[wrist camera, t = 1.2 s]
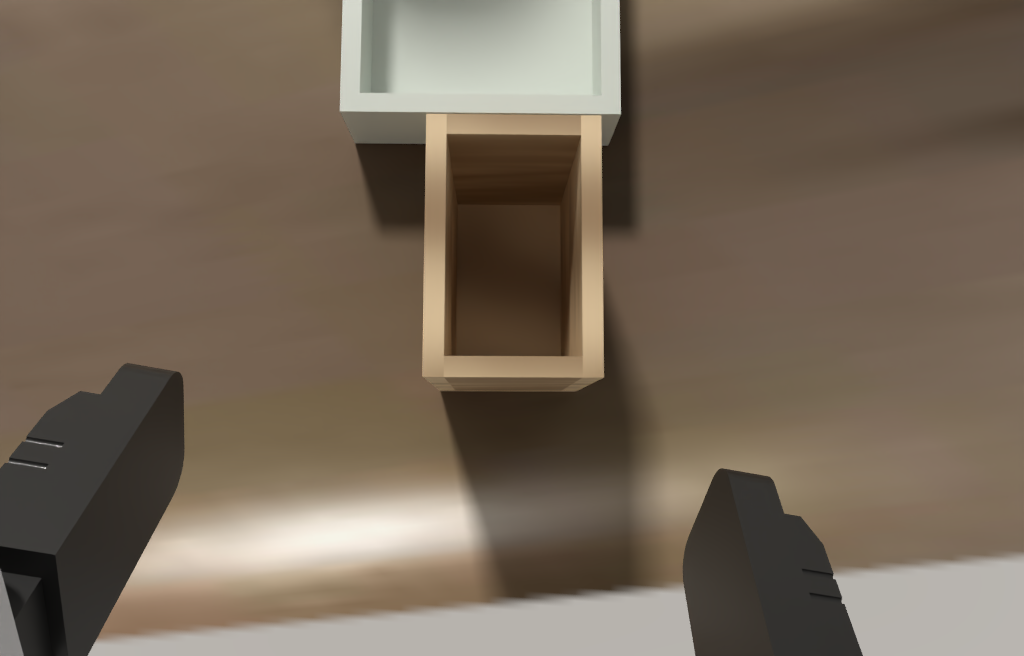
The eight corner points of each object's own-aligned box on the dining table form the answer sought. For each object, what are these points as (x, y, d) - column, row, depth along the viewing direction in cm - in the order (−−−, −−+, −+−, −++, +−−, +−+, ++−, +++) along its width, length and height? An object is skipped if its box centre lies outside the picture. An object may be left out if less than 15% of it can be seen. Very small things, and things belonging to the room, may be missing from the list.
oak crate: (575, 391, 39) (603, 377, 29) (440, 390, 39) (422, 376, 29) (574, 194, 40) (601, 115, 30) (442, 193, 40) (426, 113, 30)
